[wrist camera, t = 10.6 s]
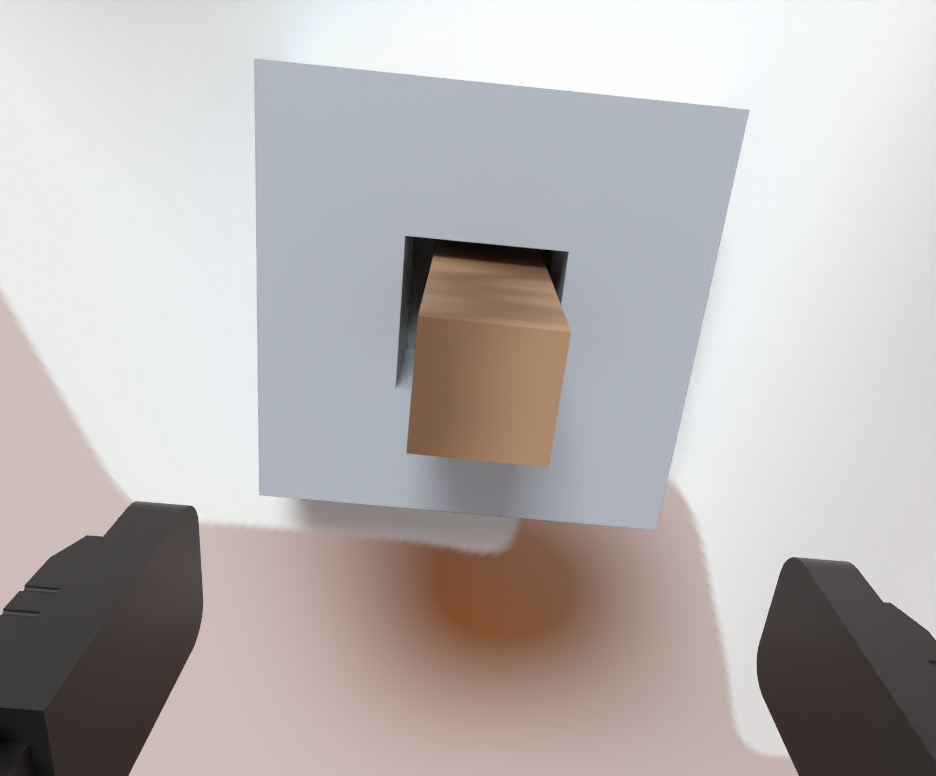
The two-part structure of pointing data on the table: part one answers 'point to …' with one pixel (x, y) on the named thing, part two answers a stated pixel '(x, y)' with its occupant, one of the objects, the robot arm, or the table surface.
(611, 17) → the table surface
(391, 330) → the socket block
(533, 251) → the walnut peg
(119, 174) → the table surface
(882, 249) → the table surface
